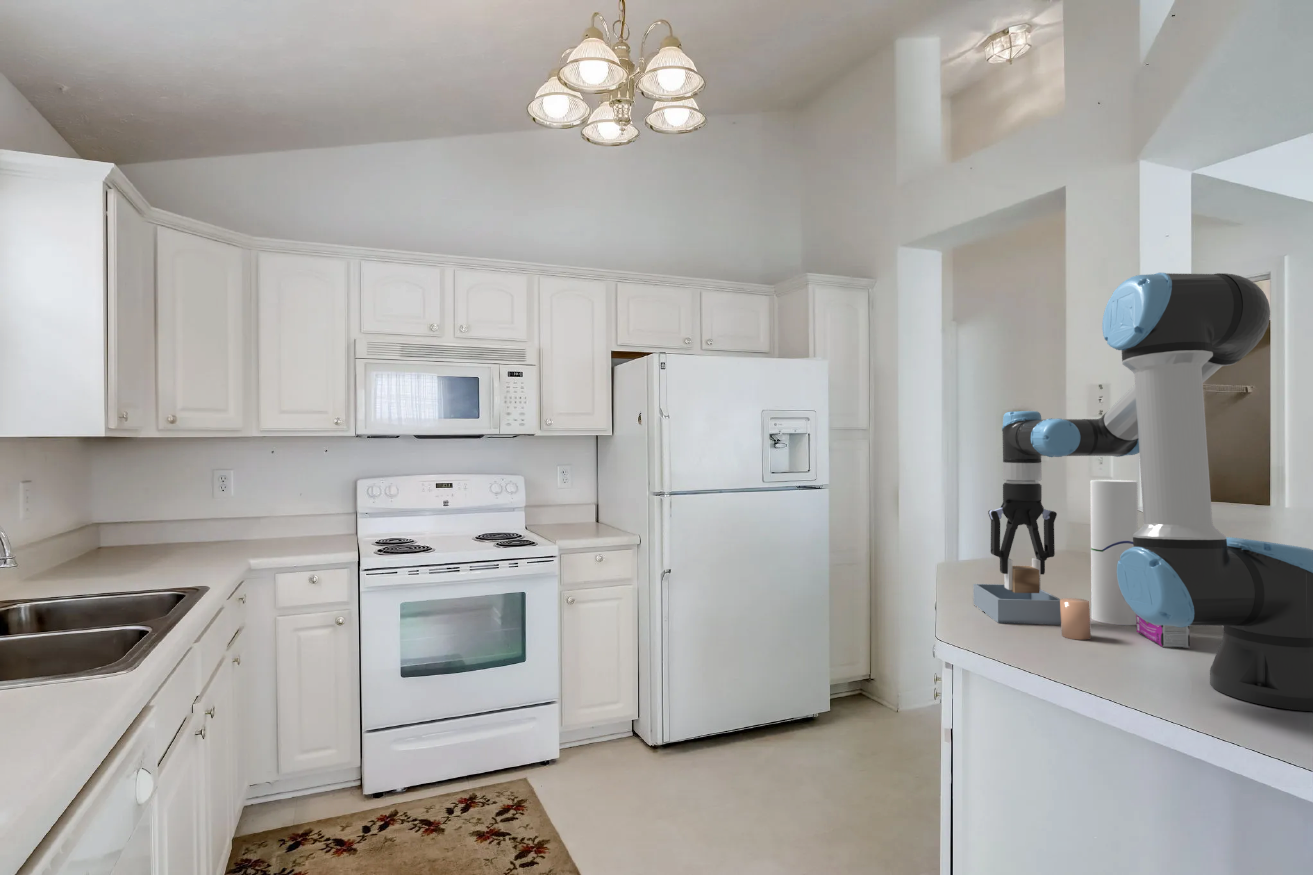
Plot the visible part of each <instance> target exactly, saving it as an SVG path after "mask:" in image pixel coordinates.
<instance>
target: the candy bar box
mask: <svg viewBox="0 0 1313 875" xmlns="http://www.w3.org/2000/svg"><path fill="white" fill-rule="evenodd" d="M1135 626H1136V627H1135V628H1136V633H1138V634H1139V635H1141V636H1143V637H1145V638H1146V639H1148V640H1150V641H1151V642H1153V643H1155V644H1157V645H1158V646H1160V647H1162V648H1167V649H1168V648H1169V649H1190V648H1191V647H1190V646H1191V644H1190V643H1191V642H1190V641H1191V640H1190V638H1191V636H1190V632H1191V631H1190V626H1186V627H1176V626H1166V625H1155V624H1152V623H1149V622H1147V621H1145V620H1143V619H1142V618H1140V617H1139V616H1138V615H1137V614H1136V625H1135Z"/></svg>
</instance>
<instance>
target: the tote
mask: <svg viewBox="0 0 1313 875" xmlns="http://www.w3.org/2000/svg"><path fill="white" fill-rule="evenodd" d="M972 586H973V587H972V588H973V605H974V604H975V605H976V606H978V608H980V609H981V610H982V611H984V612H985V613H986V614H987V615H986V614H985V613H984V612H983V613H984V614H985V615H986V616H988V615H989V616H990V617H989V616H988V617H989V618H991V619H992V620H993V619H994V620H993V621H995V622H996V623H997V622H998V623H997V624H1014V625H1015V624H1019V625H1020V624H1021V625H1022V624H1023V625H1027V624H1028V625H1052V626H1056V625H1057V626H1061V611H1060V599H1061V598H1059V597H1057V596H1055V595H1053V594H1051V593H1049V592H1047V591H1045V590H1043V589H1041V588H1040V591H1039V593H1014V592H1012V591H1010V590H1008V589H1006V588H1005V587H1004V583H1002V584H1001V583H998V584H997V583H973V584H972ZM976 606H975V607H976ZM978 608H977V609H978ZM980 609H979V610H980ZM981 610H980V611H981ZM982 611H981V612H982Z"/></svg>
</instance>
